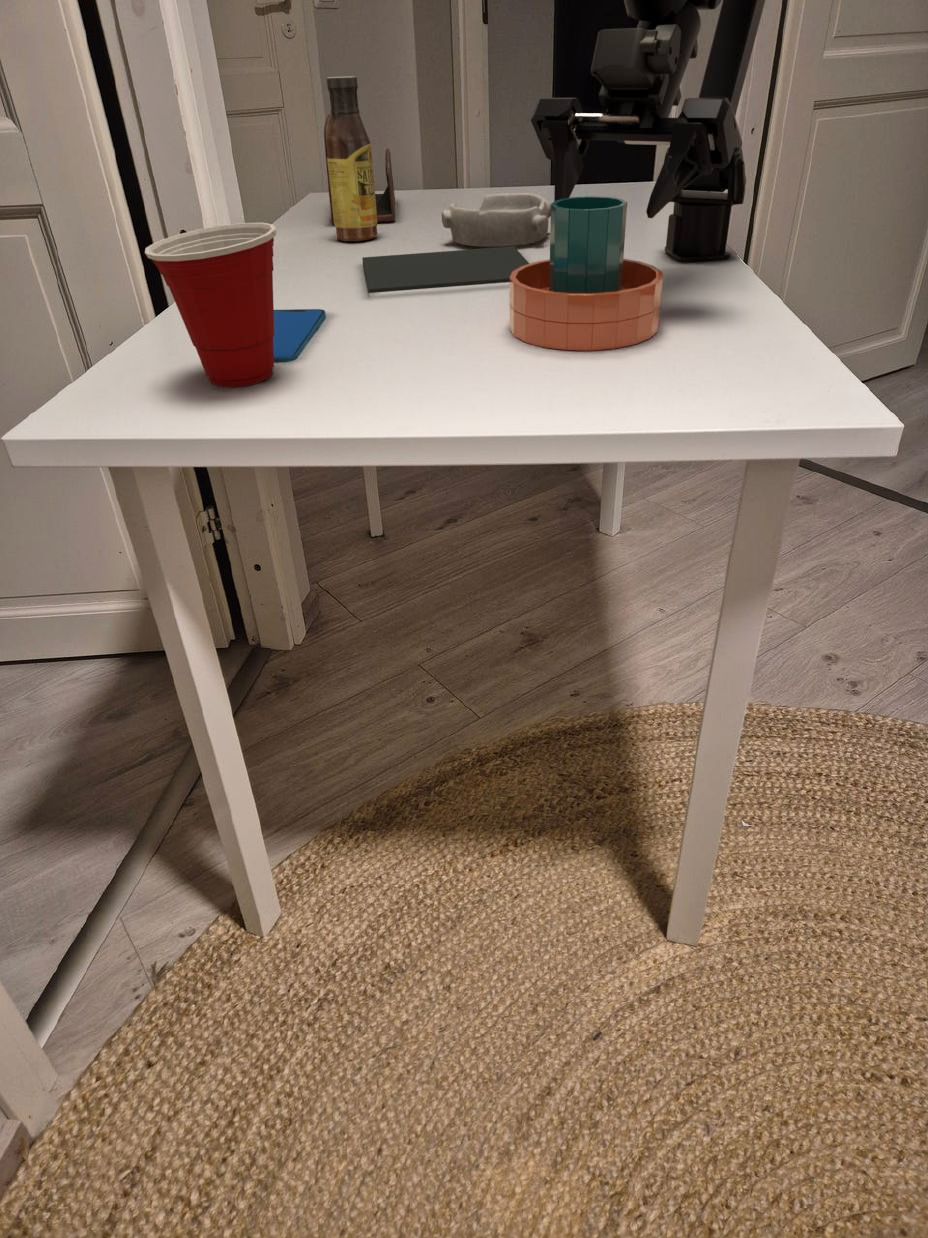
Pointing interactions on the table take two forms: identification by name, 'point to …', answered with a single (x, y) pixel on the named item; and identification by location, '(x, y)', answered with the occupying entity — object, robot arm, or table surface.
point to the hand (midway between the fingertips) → (602, 211)
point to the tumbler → (587, 244)
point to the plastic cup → (224, 297)
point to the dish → (500, 220)
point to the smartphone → (294, 331)
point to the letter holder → (383, 201)
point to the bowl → (585, 309)
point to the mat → (441, 269)
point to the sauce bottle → (350, 164)
